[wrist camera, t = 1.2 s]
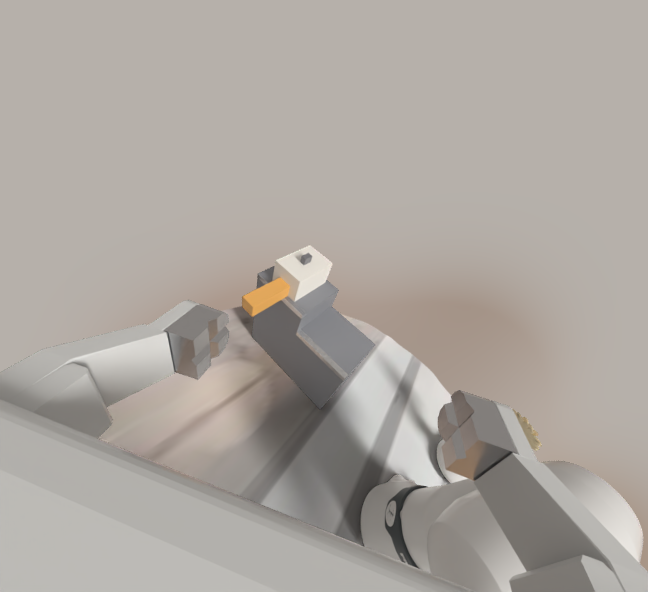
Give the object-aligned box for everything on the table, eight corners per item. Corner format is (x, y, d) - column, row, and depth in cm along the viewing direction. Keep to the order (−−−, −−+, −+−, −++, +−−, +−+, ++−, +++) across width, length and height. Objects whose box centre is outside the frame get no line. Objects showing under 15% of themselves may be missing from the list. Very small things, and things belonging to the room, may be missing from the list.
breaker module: (258, 324, 44) (262, 297, 38) (235, 299, 46) (235, 271, 40) (325, 282, 56) (334, 257, 50) (304, 265, 58) (311, 239, 52)
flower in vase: (480, 493, 59) (586, 485, 41) (440, 490, 57) (532, 479, 39) (462, 434, 68) (543, 406, 50) (426, 429, 66) (497, 398, 48)
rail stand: (319, 410, 62) (355, 365, 43) (251, 336, 70) (257, 273, 52) (346, 379, 70) (387, 330, 51) (282, 316, 78) (297, 255, 59)
